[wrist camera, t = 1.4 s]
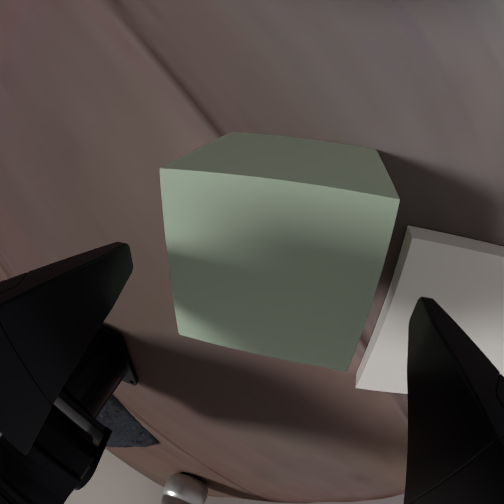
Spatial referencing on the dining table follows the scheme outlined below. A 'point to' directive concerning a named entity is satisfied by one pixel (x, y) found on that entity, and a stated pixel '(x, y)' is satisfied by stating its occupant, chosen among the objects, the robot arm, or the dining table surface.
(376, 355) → the tile
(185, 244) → the cube
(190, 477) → the plastic bottle
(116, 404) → the dark slate chunk
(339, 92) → the dining table surface
